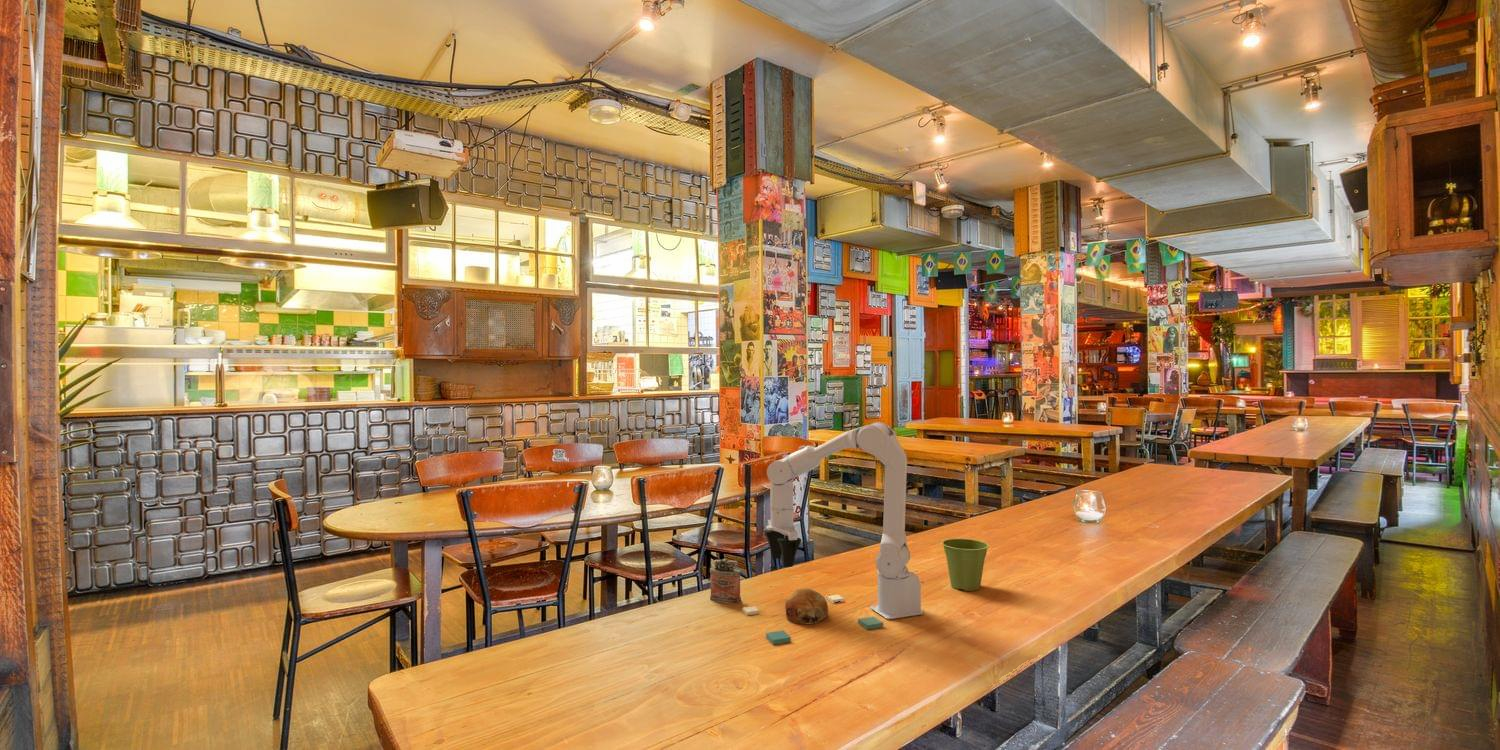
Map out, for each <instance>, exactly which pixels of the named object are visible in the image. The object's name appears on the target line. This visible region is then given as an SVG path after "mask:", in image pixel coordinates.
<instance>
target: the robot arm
mask: <svg viewBox="0 0 1500 750" xmlns="http://www.w3.org/2000/svg"><path fill="white" fill-rule="evenodd" d="M846 448H848V449H849V448H850V449H854V450H855V449H861V450H862V451H863V452H866V453H867V454H870V455H872V456H873V457H875V458H876V459H877V460H878V461H880V463H882V464H883V465H884V488H883V490H884V492H883V496H884V497H883V521H882V523H883V524H882V536H881V541H880V545H879V552H878V553H877V555H876V558H875V567H876V569H877V605H870V609H871V611H875V612H876V613H878V614H879V615H880V616H882V617H884V618H885V619H887V620H892V619H893V620H894V619H899V618H900V619H901V618H907V617H914V616H920V615H924V611H922V589H921V588H922V585H921V581H920V578H919V576H918V575H917V574H916V573H915V572H914V571H909V568H908V567H907V565H908V563H909V561H910V560H911V559H910V558H911V552H910V549H909V546H908V544H907V543H908V542H907V541H908V540H907V535H906V531H905V530H906V507H907V506H906V503H907V501H906V499H907V474H908V456H907V454H906V452H905V451H904V448H903V447H902V445H901V443H900V441H899V440H898V438H897V435H896V432H895V431H894V430H893V429H892V428H890V427H889V426H888V425H887V424H886V423H884V422H882V421H881V422H880V421H876V422H873V423H870V424H866V425H864V426H860V427H857V428H854V429H851V430H847V431H845V432H843V433H841V434H840V435H837V436H836V437H833V438H832V439H830V440H828V441H826V442H824V443H822V444H820V445H817V446H816V447H815V446H812V445H810V444H809V445H806V446H805V444H803V445H800V446H799V447H798V450H796V451H794V452H792V453H790V454H787V453H785V454H783V455H782V458H781V459H779V460H773V461H772V462H771V463H770V464H769V465H768V467H767V469H766V476H767V479H768V481H770V486H769V488H770V491H769V493H770V498H769V499H770V501H769V502H770V505H769V506H770V519H767V525H766V527H765V530H763V534H764V536H765V537H766V539H767V543H768V545H769V551H770V555H771V558H772V559H773V560H774V559H775V560H776V559H781V558H782V564H783V567H784V568H790V567H793V566H794V562H795V558H796V553H797V551H798V548H799V546H800V545H801V543H802V539H801V538H800V537H798V531H797V529H796V527H795V525H794V524H795V523H794V479H795V478H798V477H800V476H802V475H804V474H806V473H809V472H810V471H813V470H815V469H817V468H818V467H820V465H821V462H822V459H824V458H827V457H829V456H832V455H834V454H836V453H838V452H841V451H842V450H845V449H846Z"/></svg>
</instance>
